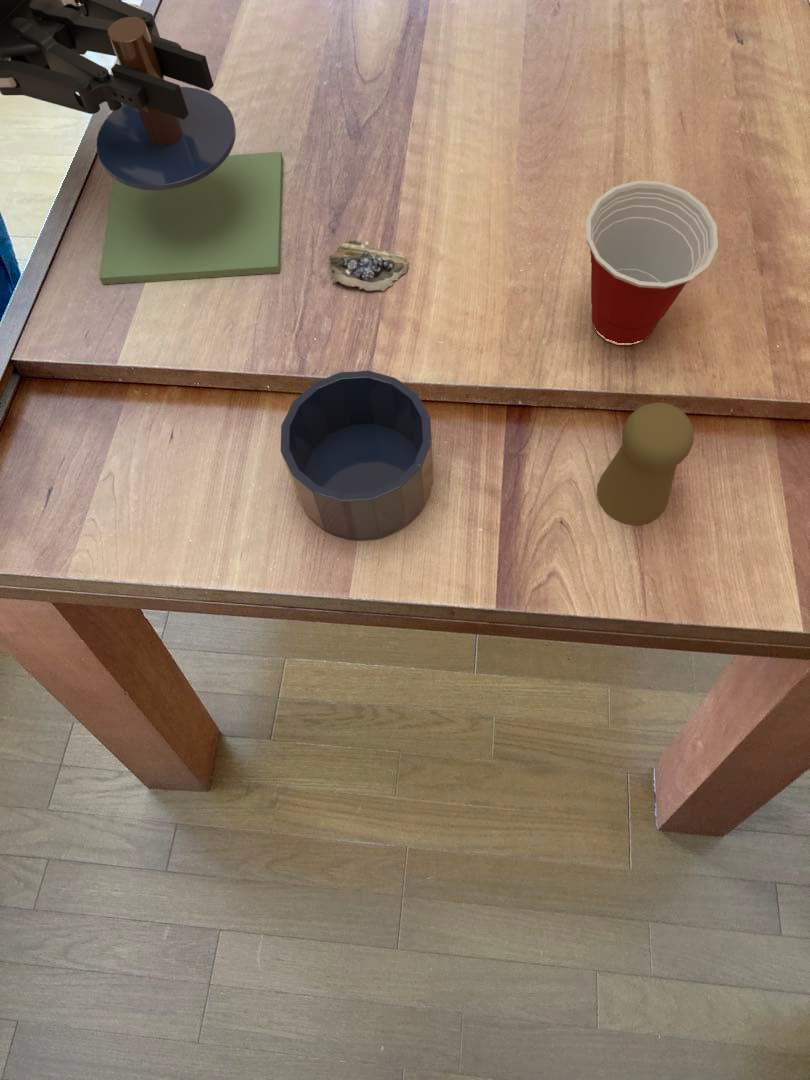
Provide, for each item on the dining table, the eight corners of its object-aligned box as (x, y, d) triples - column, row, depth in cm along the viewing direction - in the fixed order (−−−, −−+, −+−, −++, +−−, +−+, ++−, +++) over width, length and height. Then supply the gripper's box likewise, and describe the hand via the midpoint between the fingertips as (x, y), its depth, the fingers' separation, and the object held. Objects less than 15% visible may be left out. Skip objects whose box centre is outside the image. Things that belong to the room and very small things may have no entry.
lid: (135, 217, 74) (85, 106, 64) (79, 133, 79) (24, 18, 68) (261, 156, 76) (233, 40, 66) (200, 79, 81) (164, -40, 71)
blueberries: (326, 246, 83) (324, 232, 82) (404, 237, 83) (403, 222, 82) (332, 298, 80) (329, 285, 79) (413, 288, 80) (412, 274, 79)
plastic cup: (609, 389, 75) (637, 300, 64) (544, 308, 79) (559, 212, 68) (706, 339, 76) (749, 244, 65) (637, 263, 80) (667, 161, 70)
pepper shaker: (649, 454, 72) (682, 380, 62) (680, 512, 69) (719, 445, 59) (585, 474, 71) (608, 403, 61) (614, 534, 69) (642, 469, 59)
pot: (295, 544, 70) (279, 504, 63) (297, 424, 75) (282, 375, 68) (436, 536, 69) (435, 495, 62) (428, 416, 74) (426, 366, 67)
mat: (102, 284, 83) (98, 277, 82) (118, 170, 89) (115, 162, 88) (279, 273, 82) (277, 266, 81) (283, 159, 89) (281, 151, 88)
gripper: (54, 4, 81) (254, 69, 75) (-54, 109, 75) (154, 188, 70) (18, -79, 74) (235, -14, 69) (-104, 29, 68) (122, 109, 63)
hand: (194, 87), depth 69 cm, fingers closed on lid, 3 cm apart
